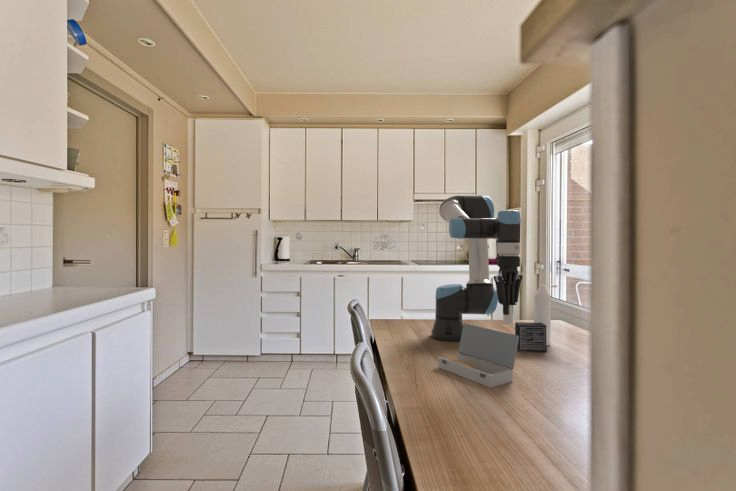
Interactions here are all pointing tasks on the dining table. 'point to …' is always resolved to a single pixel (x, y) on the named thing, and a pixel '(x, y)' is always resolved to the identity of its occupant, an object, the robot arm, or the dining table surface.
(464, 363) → the orange cylinder rod
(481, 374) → the hinged pencil case
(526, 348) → the small box
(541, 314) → the water bottle
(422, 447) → the dining table surface
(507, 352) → the cover
